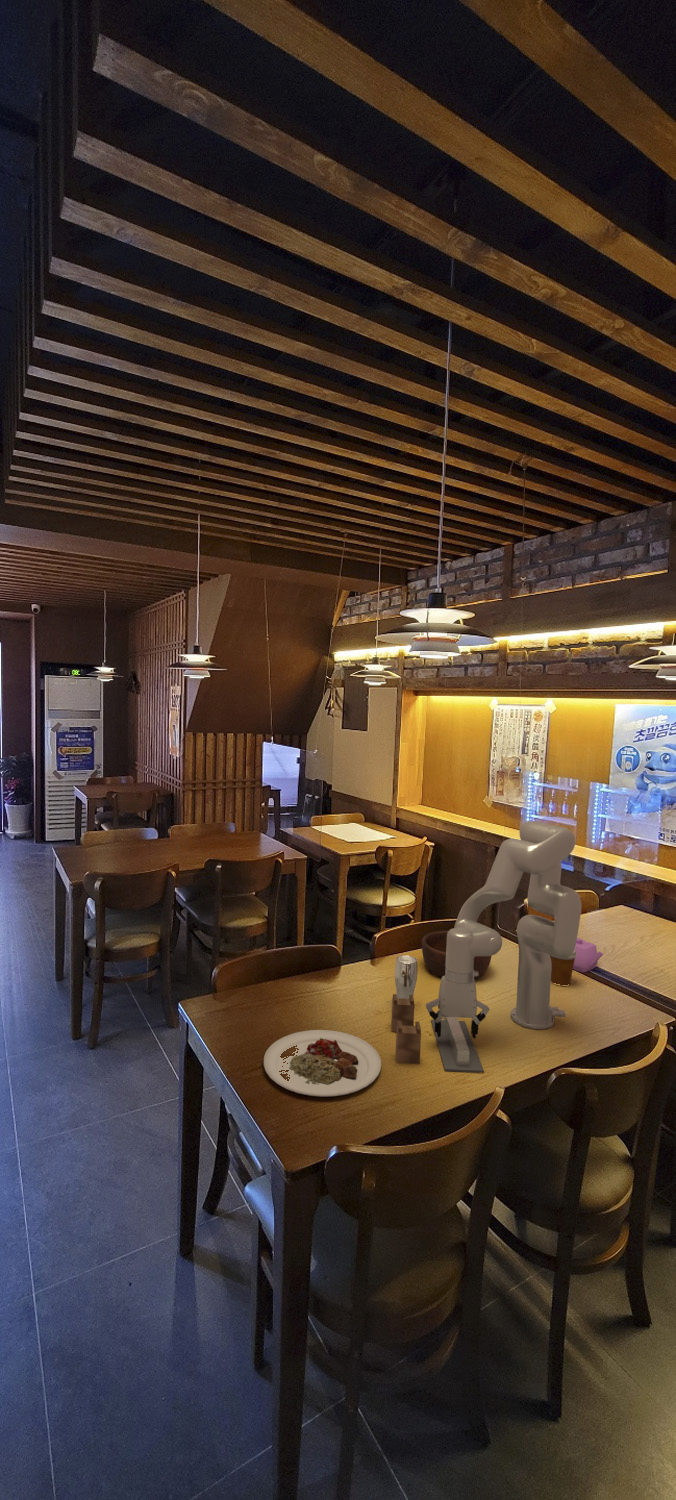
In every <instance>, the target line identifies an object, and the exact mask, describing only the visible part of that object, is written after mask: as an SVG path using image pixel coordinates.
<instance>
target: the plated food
mask: <svg viewBox="0 0 676 1500" xmlns="http://www.w3.org/2000/svg"><path fill="white" fill-rule="evenodd" d="M296 1045H297V1047H295V1048H298V1049H299V1050H297V1049H296V1051H295V1052H293V1053H295V1055H294V1056H289V1057H288V1056H287V1057H288V1058H286V1057H284V1058H286V1059H284V1058H281V1057H280V1056H281V1054H282V1053H283V1052H284V1051H286V1050H287V1049H289V1048H291V1047H293V1046H296ZM297 1051H298V1053H296V1052H297ZM293 1053H292V1054H293ZM296 1055H297V1056H296ZM283 1059H284V1060H283ZM285 1061H286V1062H285ZM283 1062H285V1063H283ZM287 1063H288V1064H287ZM282 1066H283V1067H282ZM263 1067H264V1071H265V1073H266V1074H267V1076H268V1077H269V1078H270V1079H271V1080H272V1081H273V1082H275V1083H276V1084H277V1085H279V1086H281V1087H282V1088H284V1089H286V1090H288V1091H291V1092H295V1093H296V1094H300V1095H301V1094H302V1095H305V1096H306V1095H307V1096H311V1097H337V1096H345V1095H349V1094H352V1093H356V1092H358V1091H360V1090H362V1089H364V1088H366V1087H368V1086H370V1085H371V1084H372V1083H373V1082H375V1080H376V1079H377V1078H378V1076H379V1075H380V1072H381V1070H382V1059H381V1057H380V1055H379V1053H378V1051H377V1050H376V1048H375V1047H374V1046H372V1045H371V1044H370V1043H369V1042H367V1041H365V1040H364V1039H362V1038H360V1037H358V1036H356V1035H352V1034H350V1033H346V1032H343V1031H342V1032H341V1031H336V1030H329V1029H328V1030H326V1029H311V1030H310V1029H309V1030H303V1031H297V1032H293V1033H291V1034H288V1035H285V1036H283V1037H281V1038H279V1039H277V1040H276V1041H274V1042H273V1043H272V1044H271V1045H269V1047H268V1048H267V1050H266V1051H265V1054H264V1056H263ZM281 1070H285V1071H286V1070H289V1071H288V1072H285V1071H282V1072H279V1071H281ZM283 1072H284V1073H283ZM281 1073H282V1074H286V1073H287V1074H288V1075H287V1076H288V1077H290V1079H289V1078H288V1079H289V1081H287V1079H286V1080H285V1079H284V1078H283V1077H282V1076H281V1075H280V1074H281ZM289 1075H290V1076H289ZM287 1076H286V1077H287Z"/></svg>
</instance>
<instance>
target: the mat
mask: <svg viewBox="0 0 676 1500" xmlns="http://www.w3.org/2000/svg"><path fill="white" fill-rule="evenodd" d="M458 1021H459V1024H460V1027H461V1029H462V1032H463V1035H464V1038H465V1040H466V1043H467V1046H468V1048H469V1066H459V1065H457V1064H456V1061H455V1058H454V1054H453V1051H452V1048H451V1045H450V1042H449V1038H448V1035H447V1032H446V1029H445V1026H444V1019H442V1020H441V1037H438V1036H437V1032H435V1020H434V1019H431V1020H430V1022H431V1026H432V1030H433V1033H434V1034H433V1035H434V1038H435V1041H436V1045H437V1048H438V1052H439V1056H440V1059H441V1063H442V1066H443V1070H444V1072H449V1073H450V1072H452V1073H453V1072H455V1073H475V1074H476V1073H477V1074H479V1072H484V1073H485V1070H484V1067H483V1064H482V1062H481V1059H480V1056H479V1053H478V1052H477V1049H476V1047H475V1043H474V1041H473V1037H472V1035H471V1032H470V1031H469V1028H468V1026H467V1023H466V1021H465V1020H458Z"/></svg>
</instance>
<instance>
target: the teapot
mask: <svg viewBox="0 0 676 1500" xmlns="http://www.w3.org/2000/svg"><path fill="white" fill-rule="evenodd" d="M575 951H576V954H577V956H576V958H575V960H574V966H573V969H574V971H576V972H579V973H582V974H583V973H588V972H590V971H593V970H594V968H595V966H596V965H597V966H598V961H599V960H600V959H601V957H602V956H603V955H604V953H603V952H601V951H597V945H596V944H595V943H591V942H589V941H586V940H583V938H581V937H577V941H576V946H575ZM597 966H596V967H597ZM595 969H596V968H595Z"/></svg>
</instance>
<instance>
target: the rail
mask: <svg viewBox="0 0 676 1500" xmlns="http://www.w3.org/2000/svg"><path fill="white" fill-rule="evenodd" d="M458 1018H459V1017H445V1016H444V1017H443V1020H444V1026H445V1029H446V1032H447V1035H448V1038H449V1042H450V1045H451V1048H452V1051H453V1054H454V1058H455V1061H456V1064H457V1065H459V1066H469V1048H468V1046H467V1043H466V1040H465V1038H464V1035H463V1032H462V1029H461V1027H460V1024H459V1021H460V1020H459V1019H458Z"/></svg>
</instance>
